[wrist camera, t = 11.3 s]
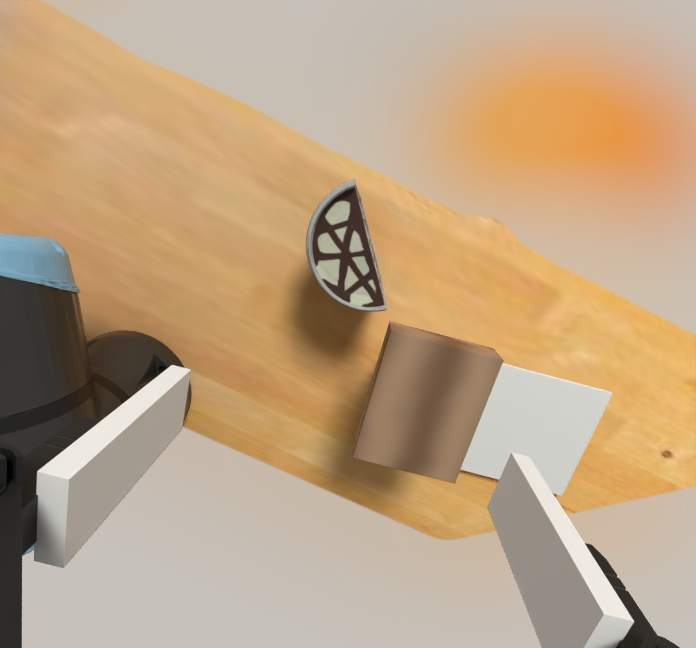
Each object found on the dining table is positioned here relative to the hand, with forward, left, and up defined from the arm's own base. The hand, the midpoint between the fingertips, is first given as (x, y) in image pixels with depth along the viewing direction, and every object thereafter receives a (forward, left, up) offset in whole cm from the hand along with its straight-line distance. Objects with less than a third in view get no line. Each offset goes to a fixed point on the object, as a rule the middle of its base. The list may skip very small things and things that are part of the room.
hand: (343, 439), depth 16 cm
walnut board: (+8, -7, -22) cm, 24 cm away
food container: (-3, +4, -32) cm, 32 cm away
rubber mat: (+24, -12, -32) cm, 42 cm away
